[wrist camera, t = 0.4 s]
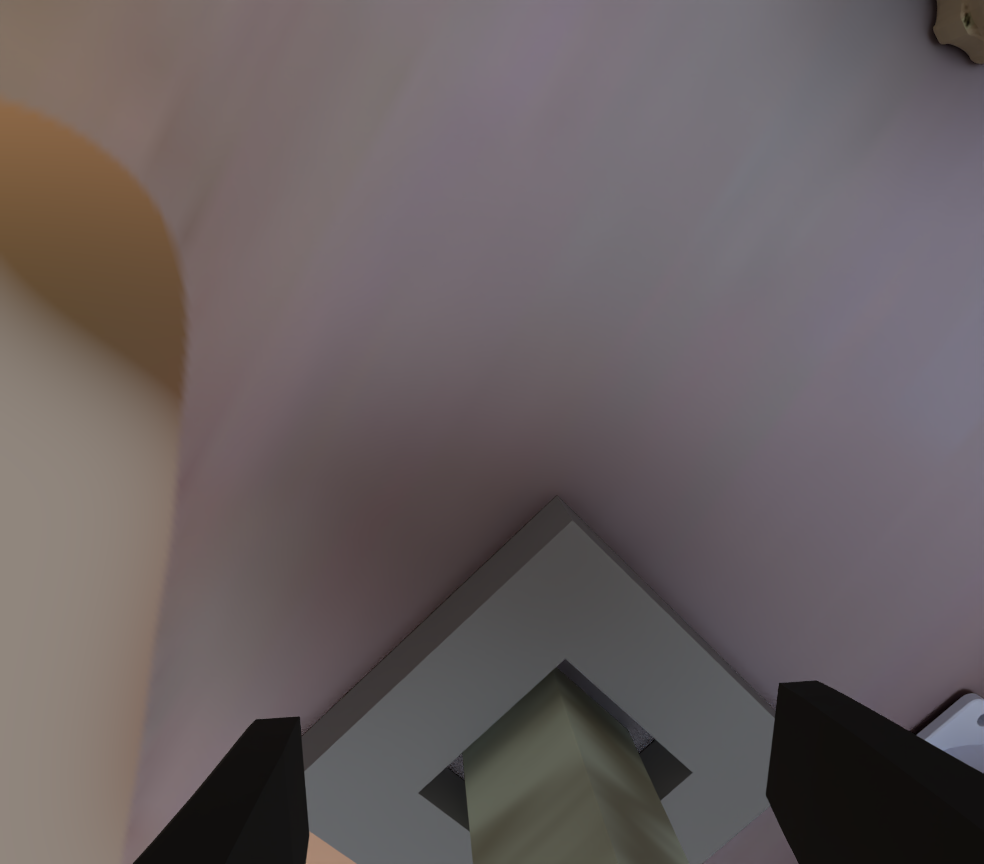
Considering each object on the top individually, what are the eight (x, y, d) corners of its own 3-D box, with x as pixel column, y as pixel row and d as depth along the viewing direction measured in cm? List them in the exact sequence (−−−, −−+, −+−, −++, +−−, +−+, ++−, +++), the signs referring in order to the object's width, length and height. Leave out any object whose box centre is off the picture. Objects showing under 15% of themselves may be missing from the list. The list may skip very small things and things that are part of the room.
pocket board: (785, 720, 22) (820, 763, 20) (536, 935, 23) (547, 994, 22) (556, 495, 19) (572, 520, 17) (283, 753, 20) (269, 803, 19)
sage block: (627, 730, 22) (743, 981, 14) (542, 806, 22) (610, 1091, 14) (548, 660, 21) (627, 890, 13) (461, 741, 21) (487, 1011, 13)
